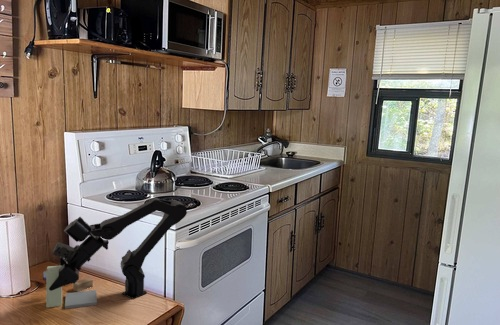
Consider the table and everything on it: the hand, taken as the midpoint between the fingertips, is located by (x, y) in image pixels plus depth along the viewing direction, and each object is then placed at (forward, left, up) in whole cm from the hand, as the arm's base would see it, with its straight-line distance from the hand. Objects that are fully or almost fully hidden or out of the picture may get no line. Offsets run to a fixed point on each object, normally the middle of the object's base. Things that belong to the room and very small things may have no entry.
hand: (50, 284), depth 133 cm
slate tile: (-5, -8, -7) cm, 12 cm away
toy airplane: (+15, -13, -7) cm, 21 cm away
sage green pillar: (-1, -1, -7) cm, 7 cm away
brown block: (+3, -14, -7) cm, 16 cm away
